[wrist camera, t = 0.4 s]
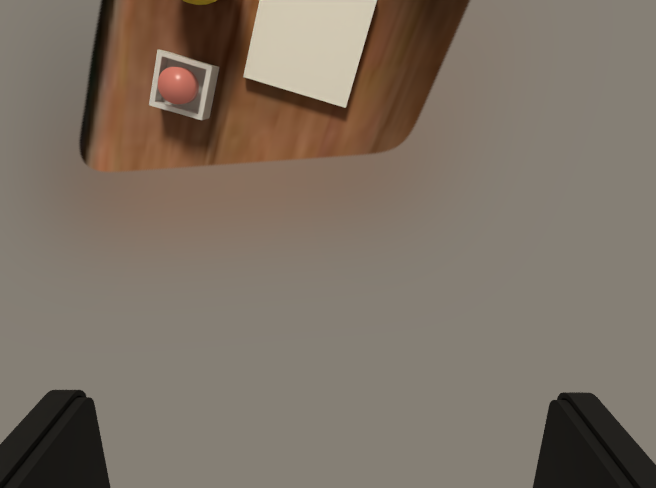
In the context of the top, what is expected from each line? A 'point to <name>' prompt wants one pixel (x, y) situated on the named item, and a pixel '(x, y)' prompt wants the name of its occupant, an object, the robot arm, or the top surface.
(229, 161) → the top surface
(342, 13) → the paper pad
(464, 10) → the top surface
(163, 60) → the button base
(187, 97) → the button
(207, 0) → the lemon
